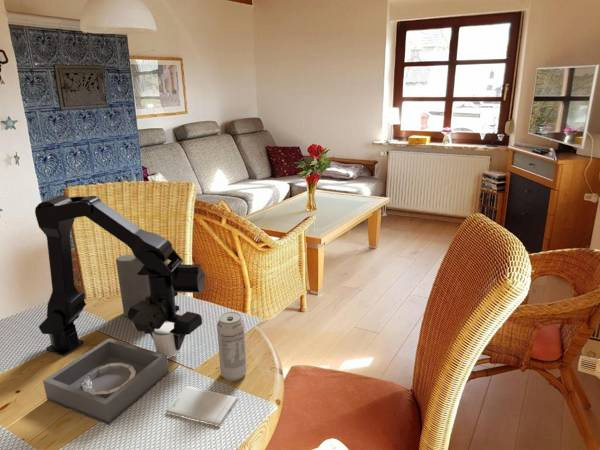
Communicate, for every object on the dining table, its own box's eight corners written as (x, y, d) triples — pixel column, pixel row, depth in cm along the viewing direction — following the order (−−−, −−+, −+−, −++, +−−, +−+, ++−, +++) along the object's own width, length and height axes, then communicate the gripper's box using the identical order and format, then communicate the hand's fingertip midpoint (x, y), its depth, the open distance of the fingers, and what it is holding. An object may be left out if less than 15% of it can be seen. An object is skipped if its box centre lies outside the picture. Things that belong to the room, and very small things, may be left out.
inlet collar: (71, 391, 100) (70, 385, 100) (110, 363, 110) (110, 358, 109) (109, 405, 96) (108, 399, 95) (146, 375, 105) (145, 370, 105)
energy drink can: (246, 365, 110) (243, 309, 105) (247, 381, 104) (244, 323, 99) (221, 367, 109) (216, 311, 104) (220, 383, 103) (215, 325, 99)
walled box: (47, 400, 99) (42, 380, 97) (111, 355, 114) (108, 337, 113) (109, 425, 92) (105, 404, 90) (169, 373, 107) (166, 355, 105)
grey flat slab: (165, 409, 94) (219, 422, 90) (186, 384, 102) (237, 396, 98) (166, 416, 95) (220, 429, 91) (187, 391, 102) (238, 402, 98)
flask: (177, 311, 135) (170, 247, 129) (168, 321, 130) (161, 255, 124) (131, 307, 138) (122, 245, 132) (120, 316, 132) (110, 252, 126)
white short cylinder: (188, 347, 117) (185, 323, 115) (170, 362, 111) (167, 337, 109) (167, 341, 120) (164, 318, 118) (148, 355, 114) (145, 331, 112)
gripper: (106, 297, 107) (115, 355, 112) (169, 313, 99) (176, 374, 104) (140, 278, 116) (147, 332, 121) (201, 292, 109) (206, 348, 114)
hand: (168, 346), depth 115 cm, fingers closed on white short cylinder, 6 cm apart
